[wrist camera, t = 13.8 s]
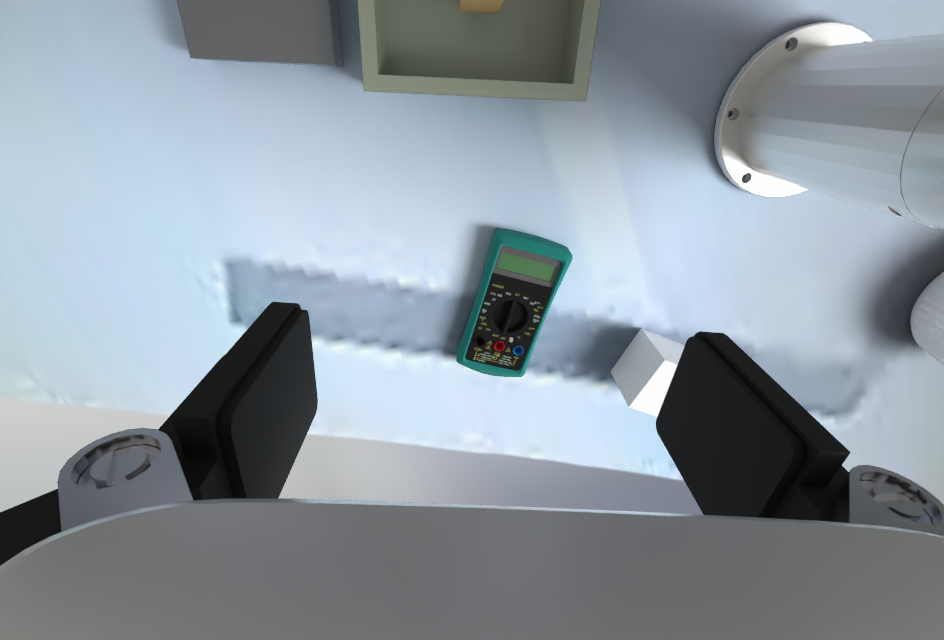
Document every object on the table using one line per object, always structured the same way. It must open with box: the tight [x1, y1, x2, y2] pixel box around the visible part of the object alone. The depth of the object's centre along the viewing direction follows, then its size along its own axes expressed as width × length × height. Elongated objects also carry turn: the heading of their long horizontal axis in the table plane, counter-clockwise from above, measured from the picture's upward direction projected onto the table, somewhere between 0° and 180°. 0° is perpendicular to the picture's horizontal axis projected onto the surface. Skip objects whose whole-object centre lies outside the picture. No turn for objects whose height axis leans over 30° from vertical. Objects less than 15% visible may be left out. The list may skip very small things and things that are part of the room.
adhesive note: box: [610, 328, 685, 417], centre depth 44 cm, size 6×6×6 cm
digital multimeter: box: [457, 229, 572, 377], centre depth 42 cm, size 7×15×3 cm, turn 164°
